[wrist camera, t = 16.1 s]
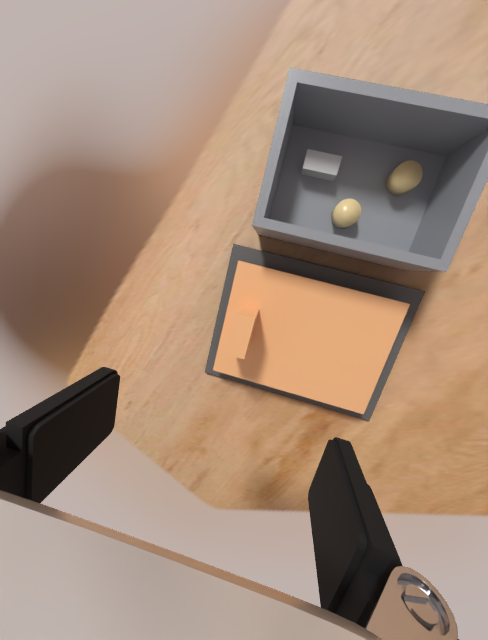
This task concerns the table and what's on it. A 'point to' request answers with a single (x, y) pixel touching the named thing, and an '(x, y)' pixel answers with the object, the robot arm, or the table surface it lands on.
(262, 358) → the lid
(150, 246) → the table surface
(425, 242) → the tub
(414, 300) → the mat
